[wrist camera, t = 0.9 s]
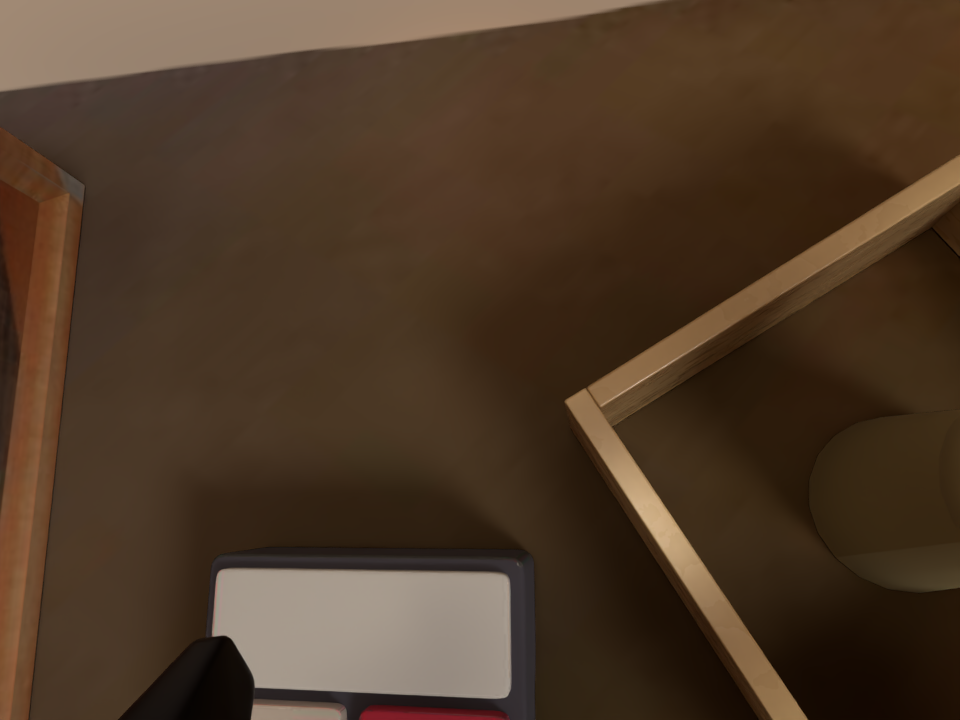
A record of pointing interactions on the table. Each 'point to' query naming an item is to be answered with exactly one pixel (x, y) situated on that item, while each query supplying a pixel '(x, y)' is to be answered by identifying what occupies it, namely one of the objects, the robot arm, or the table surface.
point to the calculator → (380, 631)
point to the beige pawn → (893, 500)
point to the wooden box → (30, 389)
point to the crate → (593, 411)
